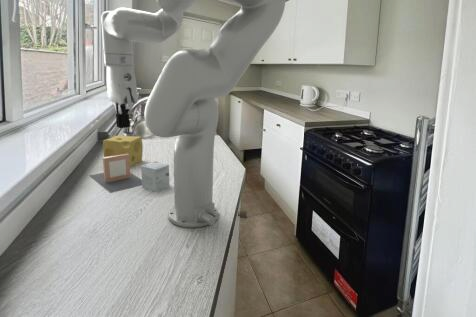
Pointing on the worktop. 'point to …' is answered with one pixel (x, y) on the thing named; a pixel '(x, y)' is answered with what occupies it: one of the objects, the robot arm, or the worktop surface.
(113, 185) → the mat
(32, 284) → the worktop surface
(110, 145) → the cheese
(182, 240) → the worktop surface
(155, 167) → the skincare box
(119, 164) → the tile
